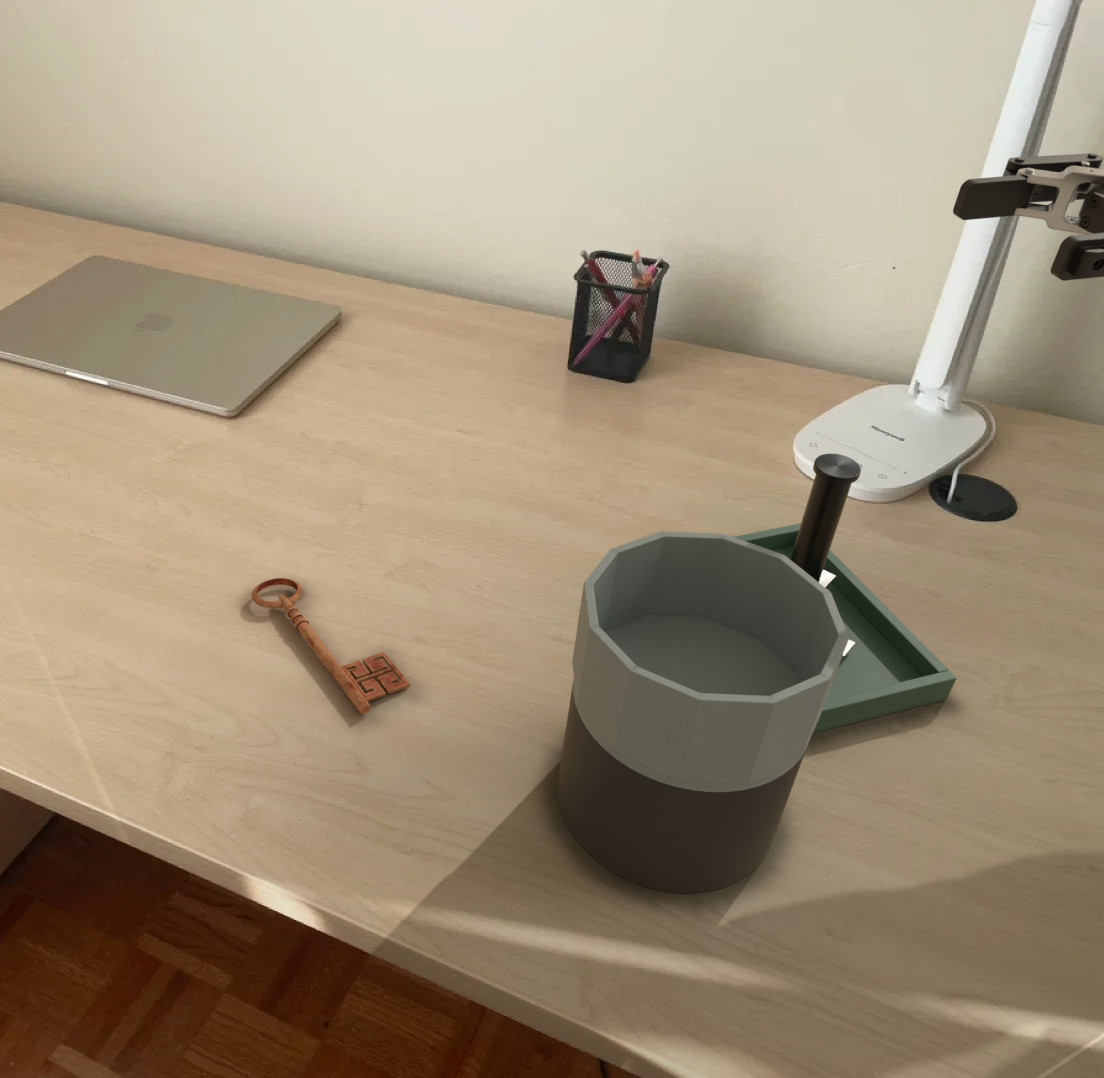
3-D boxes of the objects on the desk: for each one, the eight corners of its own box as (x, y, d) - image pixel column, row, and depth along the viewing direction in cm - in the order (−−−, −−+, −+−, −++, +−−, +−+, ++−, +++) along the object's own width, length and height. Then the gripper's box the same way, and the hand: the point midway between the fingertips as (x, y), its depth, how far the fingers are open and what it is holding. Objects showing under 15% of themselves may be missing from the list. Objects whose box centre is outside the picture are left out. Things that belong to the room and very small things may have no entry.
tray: (947, 699, 71) (957, 677, 70) (768, 744, 68) (776, 722, 67) (797, 543, 84) (803, 522, 83) (642, 574, 81) (646, 553, 80)
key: (413, 696, 72) (313, 572, 82) (415, 686, 71) (313, 562, 82) (338, 724, 69) (244, 592, 80) (339, 714, 69) (244, 583, 79)
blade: (874, 624, 76) (937, 463, 67) (817, 691, 71) (876, 526, 62) (760, 569, 81) (804, 412, 72) (698, 627, 76) (738, 467, 67)
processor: (821, 840, 62) (901, 648, 53) (643, 929, 58) (693, 738, 48) (681, 694, 72) (726, 508, 62) (517, 762, 67) (538, 573, 57)
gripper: (1191, 102, 64) (951, 119, 62) (1413, 183, 53) (1131, 209, 51) (1137, 222, 69) (912, 242, 66) (1331, 319, 58) (1069, 349, 55)
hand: (1007, 228), depth 59 cm, fingers open, 8 cm apart
